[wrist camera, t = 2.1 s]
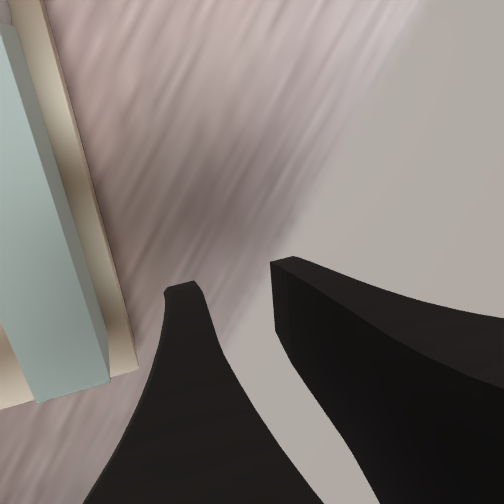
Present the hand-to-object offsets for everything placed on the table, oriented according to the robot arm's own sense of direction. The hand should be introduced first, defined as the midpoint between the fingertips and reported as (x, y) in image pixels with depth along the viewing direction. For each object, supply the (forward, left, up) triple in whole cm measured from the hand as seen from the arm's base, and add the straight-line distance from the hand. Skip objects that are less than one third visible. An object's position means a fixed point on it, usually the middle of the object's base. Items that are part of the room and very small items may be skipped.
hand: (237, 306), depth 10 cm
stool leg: (+2, +5, -7) cm, 9 cm away
